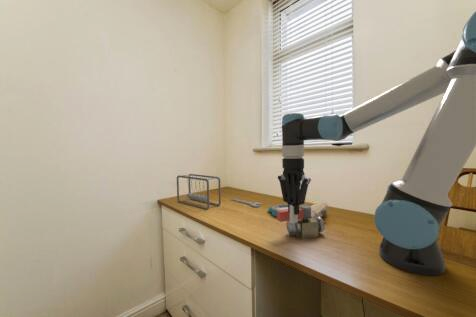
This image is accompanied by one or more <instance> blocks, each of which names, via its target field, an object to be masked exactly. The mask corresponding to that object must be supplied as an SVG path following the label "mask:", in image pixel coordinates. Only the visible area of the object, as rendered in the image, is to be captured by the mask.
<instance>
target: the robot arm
mask: <svg viewBox="0 0 476 317" xmlns="http://www.w3.org/2000/svg"><path fill="white" fill-rule="evenodd" d="M461 33H462V34H461V38H460V41H459V43H458V45H457V47H456V49H455V50H454V51H452V52H450V53H449V54H447V55H445V56H444V57H442V58H440V59H439V60H438V62H437V64H436V65H434V66H433V67H431V68H429V69H428V70H425V71H424V72H423V71H422V72H421V73H419V74H417V75H416V76H414V77H411V78H410V79H408V80H406V81H404V82H402V83H400V84H399V85H396V86H394V87H392V88H391V89H389V90H386V91H385V92H383V93H381V94H380V95H379V94H378V95H377V96H375V97H373V98H372V99H369V100H367V101H365V102H364V103H362V104H360V105H358V106H356V107H354V108H353V109H350V110H348V111H347V112H345V113H343V114H341V115H339V114H325V115H318V116H313V117H306V118H305V115H304V114H303V113H301V112H292V113H286V114H284V115H283V116H282V118H281V135H282V136H281V137H282V138H281V139H282V142H281V143H282V145H281V152H282V153H281V154H282V155H281V156H282V159H281V160H282V161H281V162H282V166H281V167H282V168H283V170H282V174H280V175H277V180H278V181H279V186H280V190H281V195H282V200H283V202H284V203H286V204H288V212H289V213H290V223H292V224H294V223H297V222H298V214H299V205H300V206H303V205H304V204H305V202H306V196H307V193H308V189H309V188H308V187H309V184H310V183H311V181H312V179H311V178H310V177H307V176H306V173H305V172H304V169H305V159H304V158H303V157H305V141H319V140H320V141H321V140H322V141H335V142H338V141H342V140H345V139H347V138H348V137H349V135H352V134H354V133H356V132H358V131H360V130H363V129H365V128H368V127H370V126H372V125H375V124H377V123H379V122H381V121H383V120H386V119H387V118H390V117H393V116H395V115H397V114H399V113H401V112H404V111H406V110H408V109H411V108H413V107H415V106H417V105H420V104H423V103H425V102H427V101H429V100H432V99H434V98H436V97H438V96H440V95H443V96H442V98H441V100H440V102H439V104H438V106H437V108H436V109H435V111H434V114H433V115H432V117H431V120H430V121H429V124H428V126H427V128H426V130H425V132H424V134H423V136H422V138H421V140H420V142H419V144H418V145H417V147H416V150H415V152H414V154H413V156H412V158H411V159H410V162H409V164H408V165H407V168H406V170H405V172H404V173H403V176H402V177H401V178H400V179H397V180H394V181H392V182H391V183H390V184H388V186H387V189H386V192H385V193H386V194H385V196H384V198H383V200H382V202H381V203H380V204H379V205H378V206H377V207H376V208H375V212H374V218H373V219H374V225H375V227H376V229H377V231H378V232H379V234H380V235H381V236H382V239H381V243H380V244H379V247H378V248H379V249H378V250H379V252H378V253H379V256H380V258H381V259H382V260H384V261H385V262H387V264H389V265H391V266H393V267H395V268H398V269H400V270H403V271H406V272H409V273H413V274H417V275H423V276H441V275H443V274H444V273H445V270H446V262H445V259H444V257H443V253H442V251H441V249H440V246H439V243H438V237H439V235H440V234H439V232H440V226H441V225H442V223H443V221H444V220H445V219H446V217H447V215H448V213H449V212H450V210H451V208H452V207H453V202H452V201H451V200H450V198H449V193H450V191H451V189H452V188H453V186H454V184H455V182H456V181H457V179H458V177H459V175H460V174H461V172H462V170H463V168H464V166H465V165H466V164H467V162H468V160H469V158H470V157H471V155H472V153H473V152H474V149H475V148H476V11H474V12H473V14H472V15H471V16H470V17H469V19H468V20H467V21H466V23H465V25H464V26H463V28H462V30H461Z"/></svg>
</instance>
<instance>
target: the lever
mask: <svg viewBox="0 0 476 317" xmlns="http://www.w3.org/2000/svg"><path fill="white" fill-rule="evenodd" d="M310 206H311V205H309V206H308V205H300V208H299V214H298V219H310V218H311V207H310ZM276 220H277V221H278V222H280V223H281V222H287V221H290V213H289V212H288V209H283V210H277V216H276Z"/></svg>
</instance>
